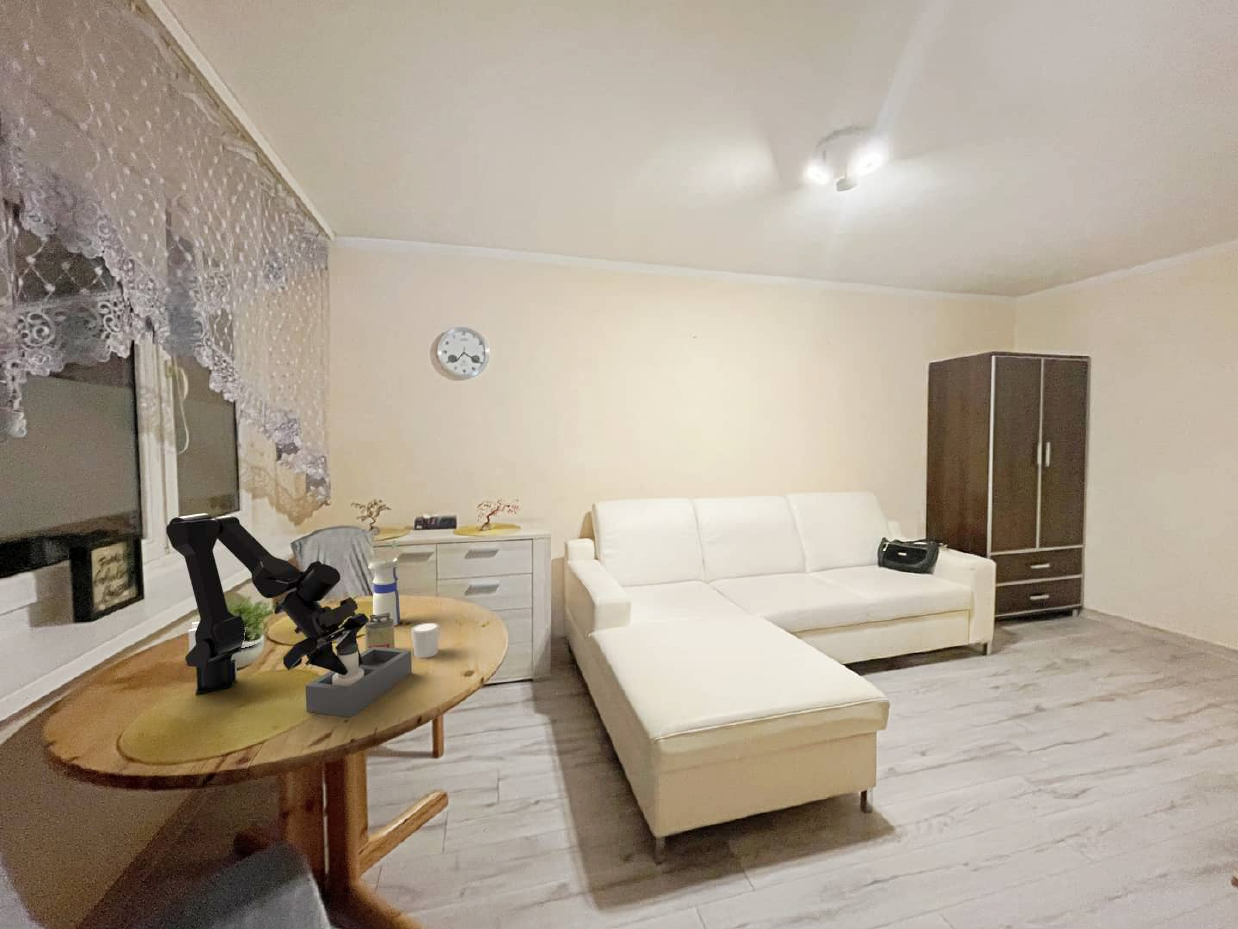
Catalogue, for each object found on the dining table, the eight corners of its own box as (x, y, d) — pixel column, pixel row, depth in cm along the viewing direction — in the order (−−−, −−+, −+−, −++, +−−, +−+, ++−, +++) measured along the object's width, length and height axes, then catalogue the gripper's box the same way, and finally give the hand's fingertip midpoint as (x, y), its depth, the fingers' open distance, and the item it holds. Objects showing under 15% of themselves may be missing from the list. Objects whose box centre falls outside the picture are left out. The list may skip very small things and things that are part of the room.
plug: (333, 698, 103) (331, 655, 103) (332, 685, 108) (330, 645, 108) (365, 690, 106) (364, 648, 106) (363, 678, 111) (361, 639, 111)
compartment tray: (350, 717, 101) (349, 691, 100) (306, 711, 103) (305, 685, 103) (411, 672, 120) (411, 650, 119) (373, 668, 122) (372, 646, 122)
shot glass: (433, 645, 135) (432, 620, 135) (444, 653, 131) (444, 627, 130) (407, 653, 131) (406, 627, 130) (418, 661, 126) (417, 634, 125)
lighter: (364, 656, 129) (363, 618, 128) (365, 650, 133) (364, 613, 132) (394, 651, 132) (393, 614, 131) (395, 646, 135) (394, 609, 135)
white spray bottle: (376, 619, 156) (373, 539, 154) (405, 617, 157) (402, 538, 155) (366, 629, 147) (363, 545, 146) (396, 627, 148) (393, 544, 147)
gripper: (292, 604, 98) (343, 665, 96) (360, 578, 116) (404, 628, 114) (261, 640, 100) (310, 700, 98) (332, 609, 118) (375, 659, 116)
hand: (353, 669), depth 107 cm, fingers closed on plug, 4 cm apart
